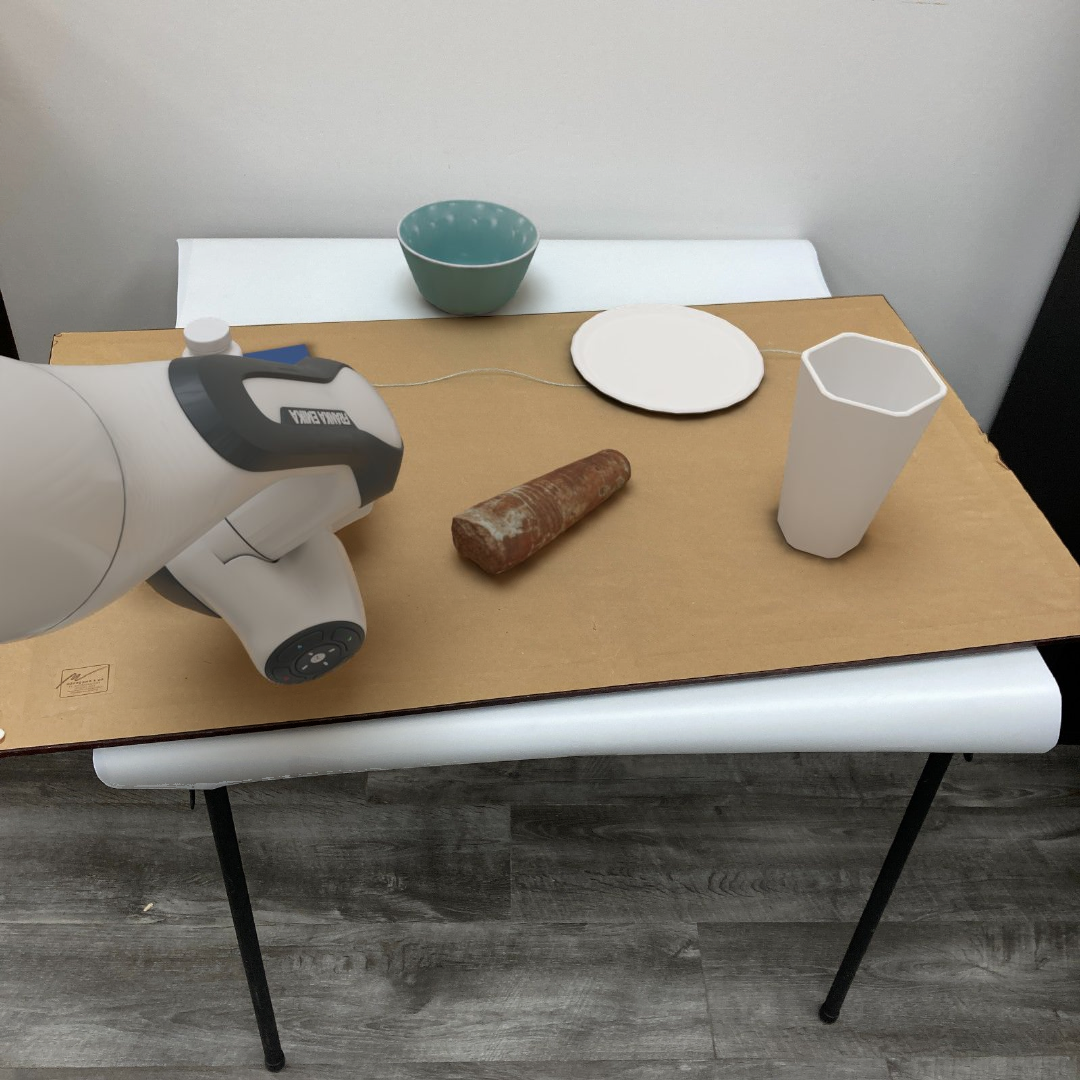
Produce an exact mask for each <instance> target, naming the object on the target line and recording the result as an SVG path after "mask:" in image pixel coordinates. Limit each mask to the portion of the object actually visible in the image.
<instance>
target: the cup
mask: <svg viewBox="0 0 1080 1080" xmlns="http://www.w3.org/2000/svg"><path fill="white" fill-rule="evenodd" d="M799 363H800V364H799V370H798V375H797V384H796V389H795V396H794V401H793V402H794V403H793V411H792V417H791V424H790V430H789V438H788V444H787V451H786V457H785V465H784V470H783V477H782V485H781V492H780V499H779V504H778V505H779V506H778V511H777V519H776V522H777V524H778V526H779V528H780V530H781V532H782V534H783V537H784V538H785V541H786V543H787V544H789V545H790V546H791V547H792V548H794V550H795V549H796V550H799V551H802V552H805V553H808V554H811V555H815V556H818V557H821V558H824V559H837V558H839V557H841V556H843V555H844V554H846V553H847V552H849V551H850V550H852V549H853V548H855V547H856V546H858V545H859V543H860V542H861V541H862V539H863V538H864V536H865V534H866V532H867V530H868V528H869V527H870V525H871V524H872V522H873V520H874V518H875V517H876V515H877V513H878V511H879V510H880V509H881V507H882V505H883V503H884V501H885V500H886V498H887V497H888V494H889V493H890V491H891V489H892V488H893V486H894V485H895V483H896V481H897V479H898V478H899V476H900V474H901V472H902V471H903V470H904V467H905V466H906V464H907V462H908V461H909V459H910V457H911V456H912V454H913V452H914V450H915V449H916V447H917V445H918V444H919V442H920V440H921V439H922V437H923V436H924V434H925V432H926V430H927V429H928V427H929V425H930V423H931V422H932V420H933V418H934V416H935V415H936V413H937V412H938V410H939V408H940V407H941V405H942V403H943V401H944V400H945V398H946V396H947V392H948V387H947V385H946V384H945V383H944V381H943V380H942V378H941V377H940V376H939V374H938V373H937V372H936V370H935V369H934V368H933V366H932V365H931V364H930V362H929V361H928V360H927V359H926V357H925V355H924V354H923V353H922V351H920V350H918V349H917V348H915V347H913V346H910V345H906V344H901V343H897V342H894V341H889V340H885V339H882V338H878V337H875V336H874V337H873V336H869V335H866V334H861V333H857V332H852V331H851V332H842V333H839V334H837V335H836V336H833V337H831V338H829V339H826V340H824V341H822V342H820V343H818V344H816V345H814V346H812V347H809V348H807V349H805V350H803V352H802V354H801V357H800V361H799Z"/></svg>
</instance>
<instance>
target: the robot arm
mask: <svg viewBox="0 0 1080 1080" xmlns="http://www.w3.org/2000/svg"><path fill="white" fill-rule="evenodd" d="M404 452H405V445H404V441H403V438H402V436H401V432H400V428H399V425H398V422H397V421H396V418H395V416H394V414H393V412H392V410H391V409H390V407H389V405H388V404H387V402H386V401H385V399H384V397H383V396H382V395H381V394H380V393H379V391H378V390H377V389H376V388H375V386H374V385H372V383H371V382H370V381H368V380H367V379H366V378H365V377H364V376H363V375H362V374H360V373H359V372H357V371H356V370H355V369H354V368H353V367H352V366H350V365H349V364H347V363H345V362H341V361H338V360H335V359H331V358H325V357H319V356H310V357H309V356H306V357H305V358H303V359H302V360H300V361H299V362H297V363H296V364H295V365H293V364H287V363H281V362H274V361H268V360H262V359H256V358H250V357H243V356H235V355H225V354H213V355H204V356H192V357H182V356H181V357H176V358H175V357H174V358H173V359H166V360H163V359H162V360H151V361H150V360H149V361H137V362H129V363H115V364H70V365H69V364H47V363H35V362H27V361H22V360H18V359H14V358H11V357H7V356H3V355H0V646H2V645H8V644H12V643H18V642H21V641H26V640H27V641H28V640H32V639H34V638H39V637H43V636H46V635H49V634H52V633H56V632H58V631H61V630H63V629H66V628H68V627H70V626H73V625H75V624H77V623H79V622H81V621H84V620H86V619H87V618H89V617H91V616H93V615H95V614H96V613H99V612H100V611H102V610H104V609H105V608H107V607H109V606H110V605H112V604H114V603H115V602H118V600H120V599H121V598H124V597H125V596H126V595H127V594H129V593H131V592H132V591H134V590H135V589H136V588H137V587H139V586H140V585H141V584H143V583H144V582H146V583H147V584H148V585H149V587H151V588H152V589H153V590H154V591H155V592H156V593H158V594H159V596H161V597H163V598H164V599H165V600H167V601H169V602H171V603H172V604H174V605H176V606H179V607H181V608H184V609H188V610H190V611H192V612H195V613H199V614H201V615H203V616H208V617H212V618H215V619H221V620H223V621H224V622H225V623H226V624H227V625H228V626H229V628H230V629H231V630H232V631H233V633H234V634H235V635H236V637H237V638H238V639H239V641H240V642H241V644H242V646H243V648H244V649H245V651H246V653H247V655H248V656H249V658H250V660H251V662H252V664H253V665H254V667H255V669H256V670H257V671H258V672H259V674H260V675H262V676H263V677H264V679H266V680H267V681H270V682H271V683H274V684H279V685H299V684H303V683H308V682H311V681H315V680H318V679H320V678H322V677H324V676H326V675H327V674H330V673H331V672H333V671H334V670H336V669H338V668H339V667H341V666H342V665H344V664H346V663H347V662H348V661H349V660H350V659H352V658H353V657H354V656H355V655H356V654H357V653H358V652H359V651H360V649H361V648H362V646H363V644H365V641H366V637H367V629H368V625H367V624H368V623H367V617H366V610H365V605H364V601H363V597H362V594H361V589H360V586H359V582H358V580H357V577H356V573H355V571H354V568H353V564H352V562H351V560H350V558H349V555H348V553H347V550H346V548H345V545H344V544H343V542H342V541H341V540H340V539H339V538H338V536H337V535H336V534H335V533H336V532H338V531H340V530H342V529H343V528H345V527H347V526H349V525H350V524H353V523H354V522H356V521H359V520H360V519H362V518H364V517H366V516H368V515H369V514H370V513H372V511H373V510H374V503H375V501H377V500H378V499H381V498H382V497H385V496H387V495H388V494H390V493H391V492H393V490H394V488H395V486H396V483H397V480H398V477H399V475H400V471H401V467H402V464H403V457H404Z"/></svg>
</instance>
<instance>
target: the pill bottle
mask: <svg viewBox="0 0 1080 1080" xmlns="http://www.w3.org/2000/svg"><path fill="white" fill-rule="evenodd" d="M182 332H183V337H184V338H183V339H184V342H185V345H186V347H185V348H184V350H183V352H182V354H181V358H182V357H192V356H204V355H213V354H225V355H235V356H243V354H244V353H243V350H242V349H241V347H240V345H239V344H238V343H237V342H235V341H234V340H233V339H232V338H233V335H232V331H231V328H230V325H229V324H228V323H227V321H226V320H224V319H222V318H218V317H210V316H209V317H202V318H201V317H200V318H197V319H194V320H192V321H190V322H189V323H187V324H186V325H185V327H184V328H183V331H182Z"/></svg>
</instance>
